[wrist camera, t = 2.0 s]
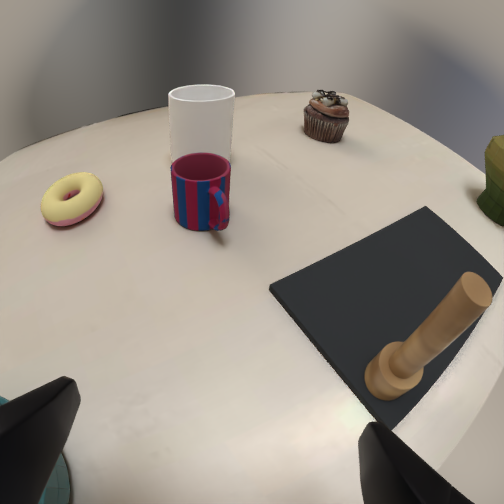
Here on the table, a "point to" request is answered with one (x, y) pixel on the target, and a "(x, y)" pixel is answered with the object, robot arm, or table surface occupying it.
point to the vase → (494, 181)
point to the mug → (201, 120)
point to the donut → (75, 208)
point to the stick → (427, 339)
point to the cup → (201, 191)
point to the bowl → (54, 481)
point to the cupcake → (326, 116)
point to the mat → (383, 300)
